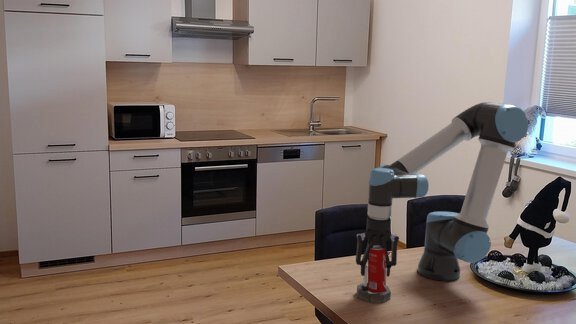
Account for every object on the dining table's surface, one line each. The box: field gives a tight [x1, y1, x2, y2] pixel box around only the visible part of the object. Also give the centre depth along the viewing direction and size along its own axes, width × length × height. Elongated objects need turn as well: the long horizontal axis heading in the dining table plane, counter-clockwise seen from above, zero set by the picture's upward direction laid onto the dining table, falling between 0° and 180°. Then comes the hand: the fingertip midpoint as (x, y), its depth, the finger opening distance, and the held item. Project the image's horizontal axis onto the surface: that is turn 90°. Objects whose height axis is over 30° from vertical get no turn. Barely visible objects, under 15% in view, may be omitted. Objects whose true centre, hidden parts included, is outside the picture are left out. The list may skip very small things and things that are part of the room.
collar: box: [356, 281, 392, 304], centre depth 184 cm, size 10×10×2 cm
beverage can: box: [367, 245, 387, 294], centre depth 182 cm, size 6×6×15 cm
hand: (374, 284), depth 184 cm, fingers closed on beverage can, 6 cm apart
